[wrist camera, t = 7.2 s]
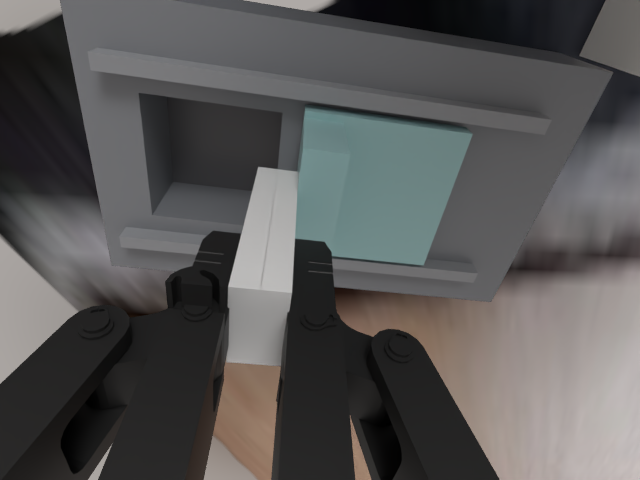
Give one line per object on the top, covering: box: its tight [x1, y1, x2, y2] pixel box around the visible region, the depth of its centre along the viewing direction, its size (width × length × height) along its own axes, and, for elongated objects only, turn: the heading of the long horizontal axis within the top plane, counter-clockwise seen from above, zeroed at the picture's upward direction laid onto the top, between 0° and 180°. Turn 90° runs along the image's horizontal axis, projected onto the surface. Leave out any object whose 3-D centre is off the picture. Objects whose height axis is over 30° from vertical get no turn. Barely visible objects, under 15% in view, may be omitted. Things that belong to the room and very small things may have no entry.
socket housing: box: [60, 0, 614, 302], centre depth 19 cm, size 12×20×5 cm, turn 82°
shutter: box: [295, 104, 473, 265], centre depth 16 cm, size 6×6×4 cm
